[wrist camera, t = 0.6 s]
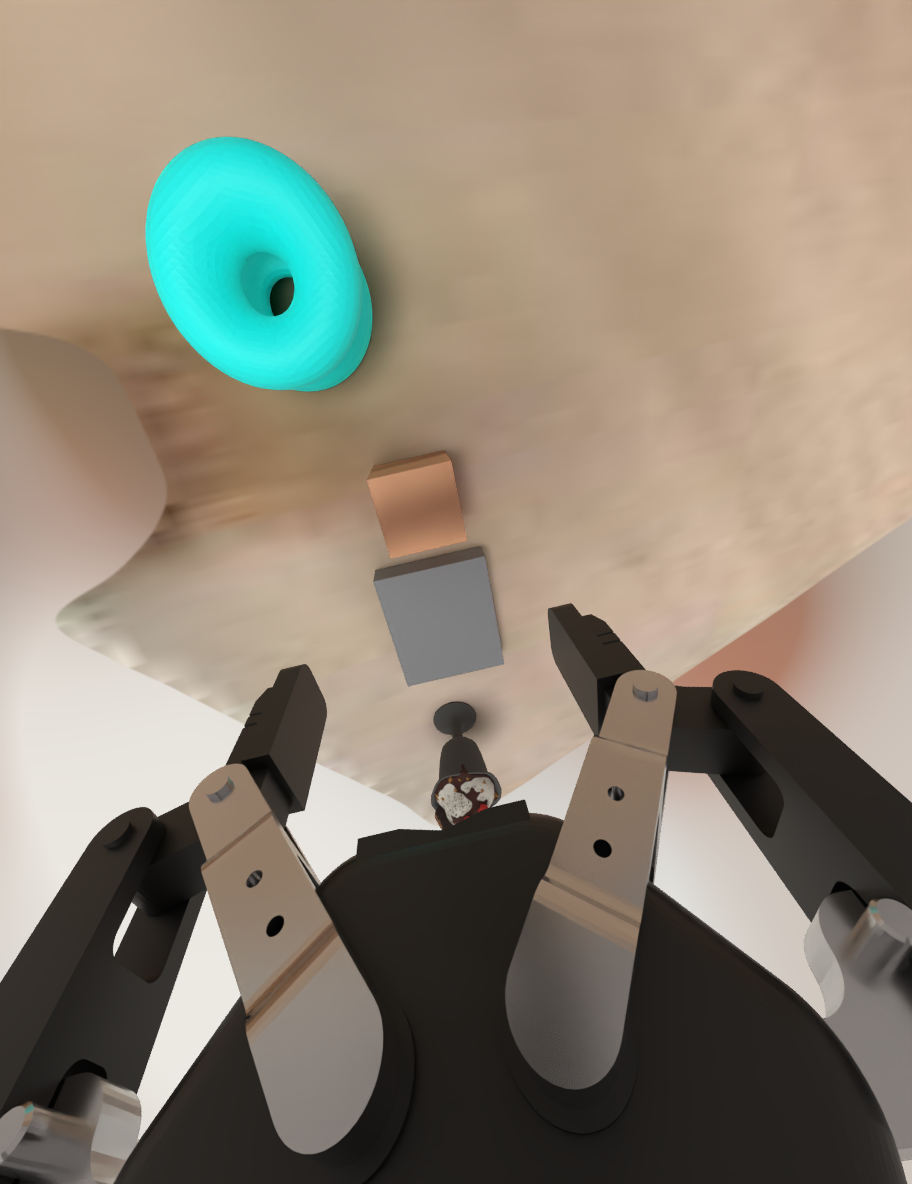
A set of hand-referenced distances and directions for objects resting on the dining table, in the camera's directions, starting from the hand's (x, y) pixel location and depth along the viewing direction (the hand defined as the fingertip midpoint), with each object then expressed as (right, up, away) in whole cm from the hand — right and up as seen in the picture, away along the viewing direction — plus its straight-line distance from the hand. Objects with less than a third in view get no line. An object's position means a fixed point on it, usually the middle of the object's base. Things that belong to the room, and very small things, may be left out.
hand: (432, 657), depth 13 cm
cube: (-3, +11, +21) cm, 24 cm away
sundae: (+1, -12, +33) cm, 35 cm away
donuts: (-10, +22, +15) cm, 28 cm away
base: (-1, 0, +27) cm, 27 cm away
